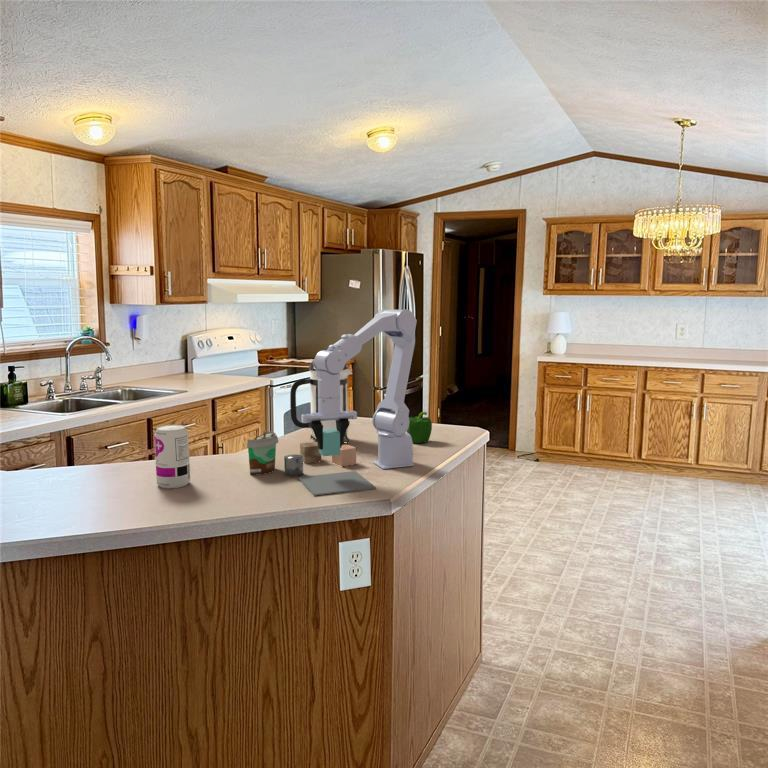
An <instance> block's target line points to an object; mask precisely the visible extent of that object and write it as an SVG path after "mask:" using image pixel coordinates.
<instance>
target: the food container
mask: <svg viewBox="0 0 768 768" xmlns="http://www.w3.org/2000/svg"><path fill="white" fill-rule="evenodd" d="M262 433H263V434H261V435H260V436H259V435H258V436H255V437H254V438H253V439H247V443H246V448H247V452H248V463H249V464H248V465H249V474H250V476H257V475H256V474H262V475H265V474H264V473H268V474H270V473H269V472H271V473H273V472H275V471H276V452H277V451H276V450H277V444H278V443H279V438H278V435H277V433H276V432H274V431H269V430H263V432H262ZM274 470H275V471H274ZM272 471H273V472H272Z"/></svg>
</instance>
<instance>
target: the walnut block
mask: <svg viewBox="0 0 768 768" xmlns="http://www.w3.org/2000/svg"><path fill="white" fill-rule="evenodd" d="M299 453H300V454H299V455H302V456H303V462H304V463H308V462H318V463H320V462H319V461H321V462H322V455H321V454H320V453H319V448H318V444H317V442H315V441H310V442H301V443H300V444H299ZM304 463H303V464H304ZM308 464H309V463H308Z"/></svg>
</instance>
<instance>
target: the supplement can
mask: <svg viewBox="0 0 768 768" xmlns="http://www.w3.org/2000/svg"><path fill="white" fill-rule="evenodd" d="M153 437H154V439H153V440H154V450H155V451H154V454H155V455H154V456H155V471H156V472H155V473H156V476H155V477H156V484H157V486H159V487H160V488H162V489H171V488H172V489H180V488H182V487H185V486H187V485H188V484H189V483H190V482H191V463H190V447H189V446H190V443H189V432H188V429H187V428H186V426H185V425H182V424H167V425H160V426H158V427H156V430H155V432H154V435H153Z"/></svg>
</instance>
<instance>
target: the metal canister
mask: <svg viewBox="0 0 768 768" xmlns="http://www.w3.org/2000/svg"><path fill="white" fill-rule="evenodd" d="M283 460H284V465H283V467H284V476H285V475H286V476H285V477H287V476H299V477H301V476H300V475H302V474H303V475H304V463H303V456H302V455H300V454H296V453H295V454H287V455H284V457H283ZM303 475H302V476H303Z"/></svg>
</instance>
